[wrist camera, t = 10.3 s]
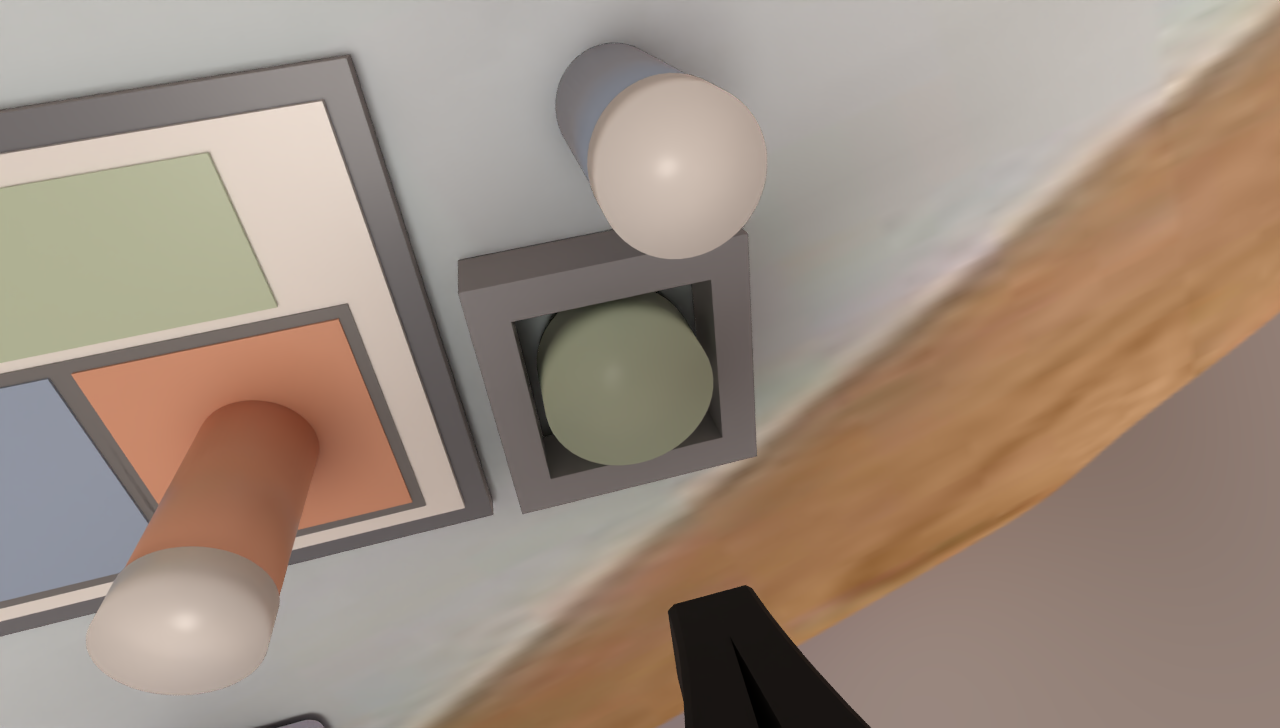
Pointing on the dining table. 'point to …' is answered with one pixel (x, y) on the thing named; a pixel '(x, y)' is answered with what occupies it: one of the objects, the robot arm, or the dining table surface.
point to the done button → (623, 379)
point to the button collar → (594, 276)
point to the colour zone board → (209, 322)
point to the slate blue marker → (661, 150)
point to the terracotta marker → (211, 557)
